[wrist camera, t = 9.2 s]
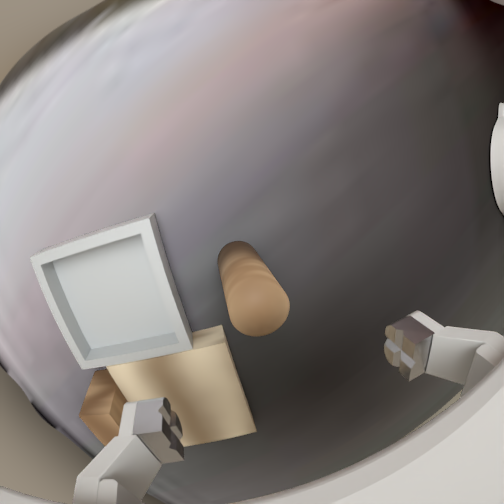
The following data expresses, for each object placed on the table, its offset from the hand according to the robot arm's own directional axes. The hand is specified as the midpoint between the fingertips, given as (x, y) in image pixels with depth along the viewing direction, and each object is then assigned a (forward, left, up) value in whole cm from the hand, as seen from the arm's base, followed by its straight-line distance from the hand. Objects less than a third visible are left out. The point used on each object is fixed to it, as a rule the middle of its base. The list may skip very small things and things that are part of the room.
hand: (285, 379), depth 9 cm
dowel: (0, 0, -13) cm, 13 cm away
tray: (+10, 0, -13) cm, 16 cm away
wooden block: (+14, +11, -13) cm, 22 cm away
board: (+7, +11, -14) cm, 19 cm away
